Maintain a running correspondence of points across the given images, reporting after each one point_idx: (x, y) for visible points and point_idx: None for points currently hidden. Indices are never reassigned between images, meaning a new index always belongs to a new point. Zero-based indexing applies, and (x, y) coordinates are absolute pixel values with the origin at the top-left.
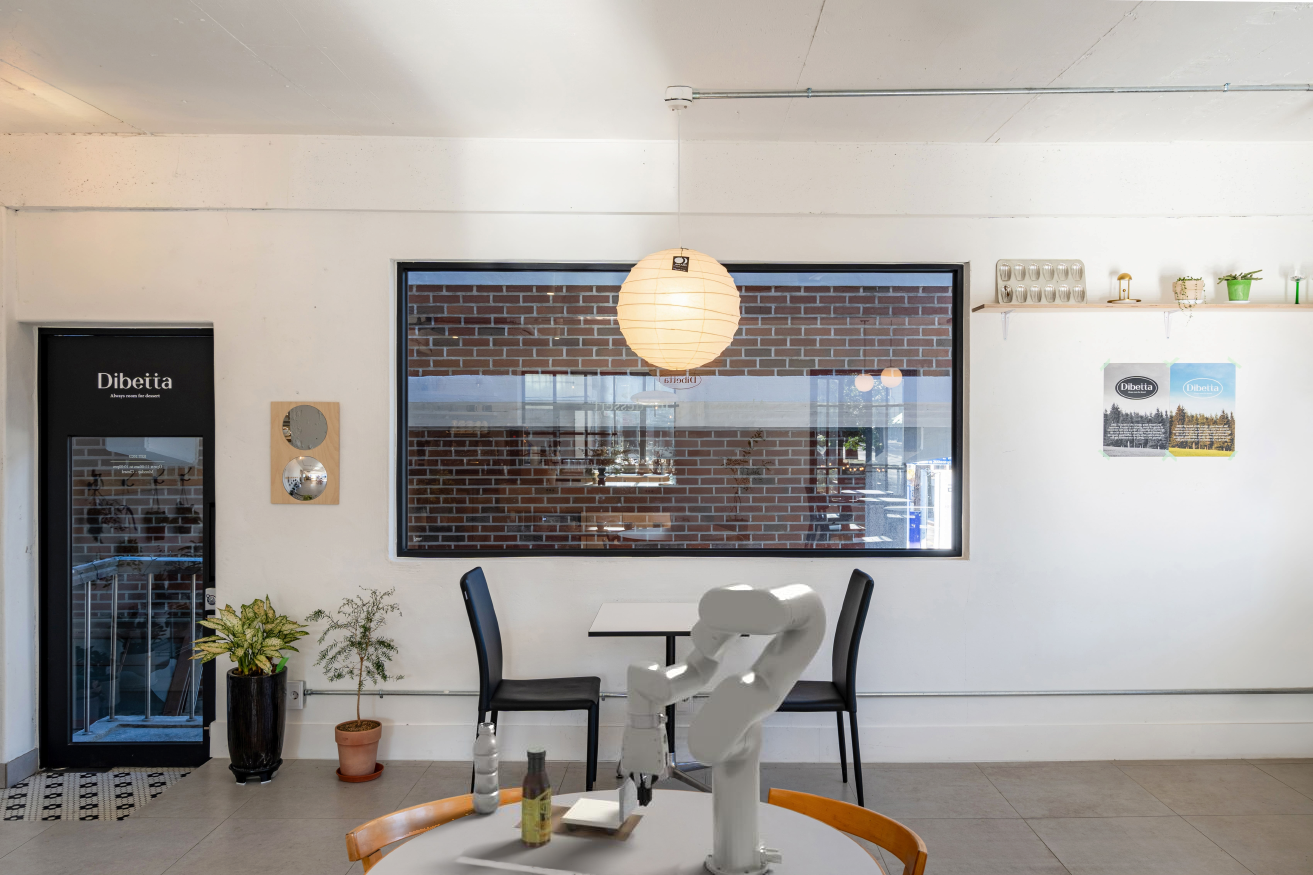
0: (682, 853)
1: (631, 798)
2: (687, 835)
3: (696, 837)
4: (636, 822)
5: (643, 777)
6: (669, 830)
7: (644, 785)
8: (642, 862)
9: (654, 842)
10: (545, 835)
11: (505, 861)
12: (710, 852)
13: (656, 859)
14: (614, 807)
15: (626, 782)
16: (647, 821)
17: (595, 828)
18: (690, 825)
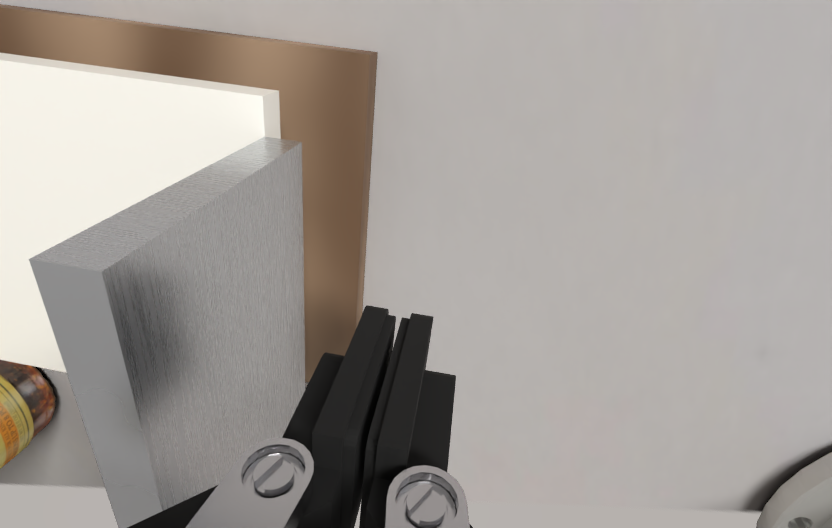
0: (648, 435)
1: (258, 320)
2: (701, 260)
3: (760, 281)
4: (350, 182)
5: (294, 507)
6: (580, 202)
7: (352, 481)
8: (466, 490)
9: (497, 344)
10: (14, 452)
11: (4, 470)
12: (809, 499)
13: (522, 474)
14: (149, 189)
15: (133, 510)
16: (410, 77)
17: None
18: (749, 106)
